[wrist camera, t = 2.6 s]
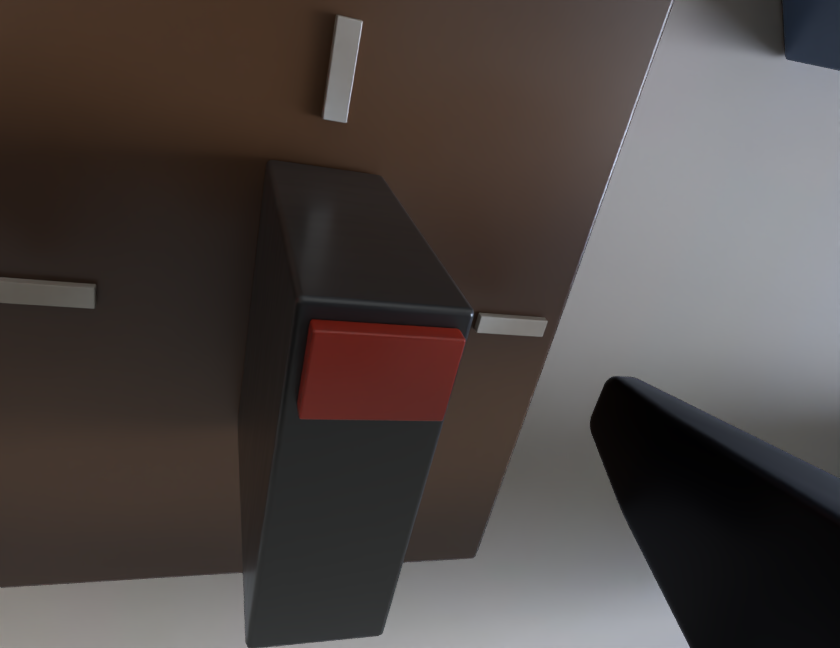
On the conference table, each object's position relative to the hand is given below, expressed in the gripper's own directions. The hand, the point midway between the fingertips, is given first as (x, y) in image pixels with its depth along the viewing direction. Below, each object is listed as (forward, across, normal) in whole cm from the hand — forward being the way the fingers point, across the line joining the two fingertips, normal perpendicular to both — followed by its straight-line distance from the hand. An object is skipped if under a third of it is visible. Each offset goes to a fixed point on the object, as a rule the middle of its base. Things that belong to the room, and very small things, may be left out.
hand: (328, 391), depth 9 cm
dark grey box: (+2, 0, 0) cm, 2 cm away
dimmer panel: (+5, 0, 0) cm, 5 cm away
